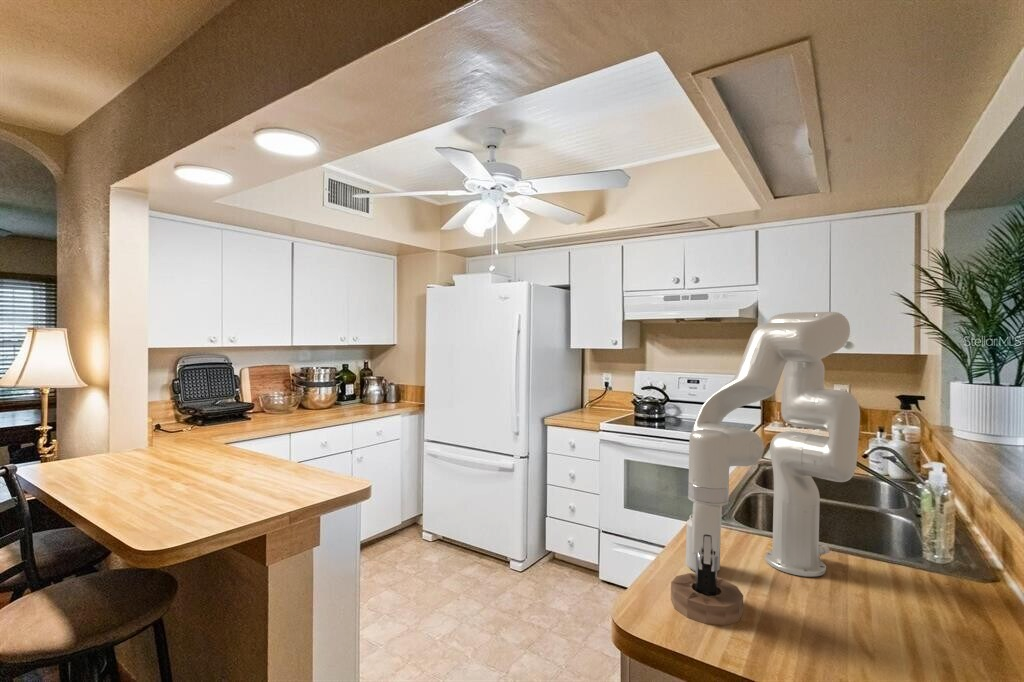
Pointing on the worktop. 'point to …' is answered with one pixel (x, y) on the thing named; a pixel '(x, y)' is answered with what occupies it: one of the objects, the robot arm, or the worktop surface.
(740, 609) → the bead
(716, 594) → the peg
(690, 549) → the can
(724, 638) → the worktop surface
